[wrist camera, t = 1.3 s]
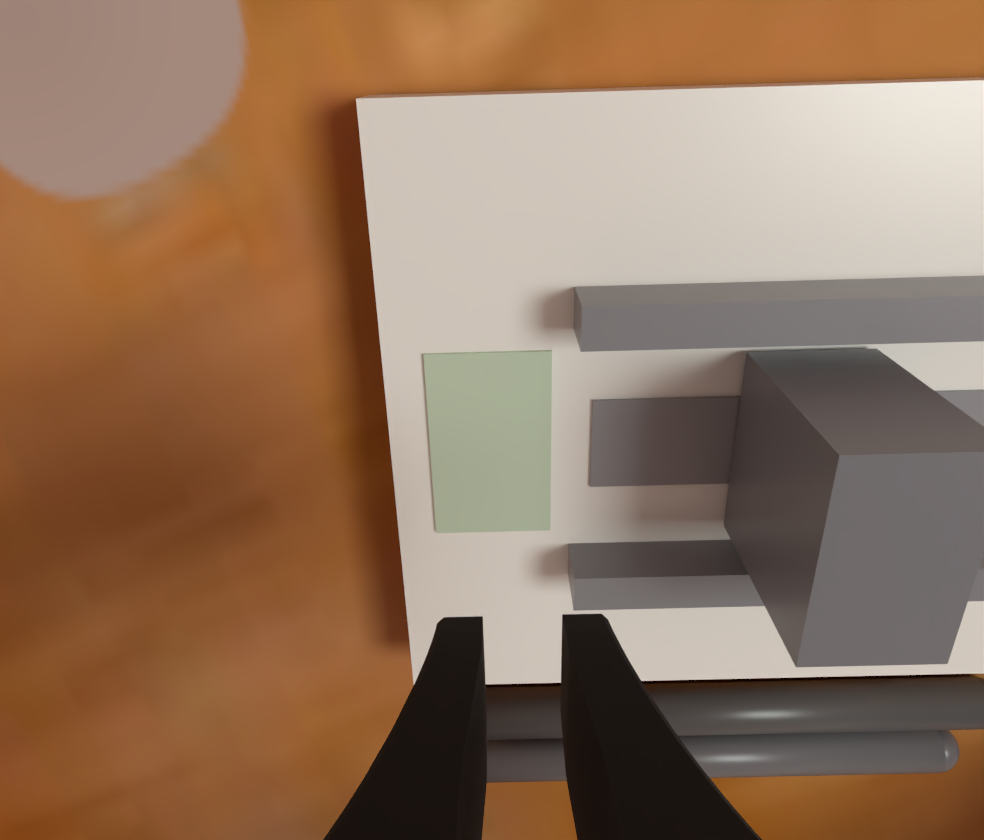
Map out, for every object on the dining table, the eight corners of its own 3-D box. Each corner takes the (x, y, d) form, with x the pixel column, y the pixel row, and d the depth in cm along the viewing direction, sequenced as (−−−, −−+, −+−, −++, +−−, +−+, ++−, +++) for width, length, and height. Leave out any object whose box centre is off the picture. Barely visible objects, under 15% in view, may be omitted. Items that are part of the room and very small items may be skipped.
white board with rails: (1261, 69, 16) (1445, 69, 13) (999, 741, 26) (1070, 836, 23) (370, 94, 17) (342, 102, 13) (430, 753, 26) (421, 849, 23)
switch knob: (876, 348, 17) (1017, 451, 12) (839, 522, 19) (947, 663, 15) (746, 351, 17) (839, 455, 12) (723, 525, 19) (795, 667, 15)
